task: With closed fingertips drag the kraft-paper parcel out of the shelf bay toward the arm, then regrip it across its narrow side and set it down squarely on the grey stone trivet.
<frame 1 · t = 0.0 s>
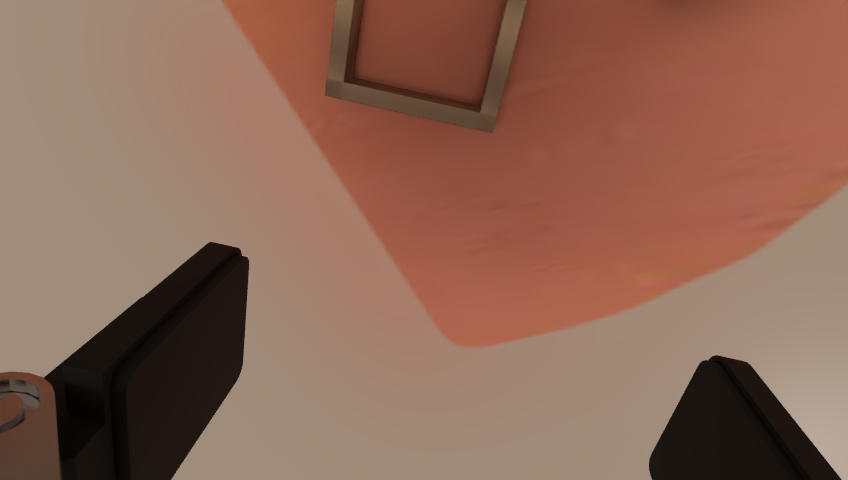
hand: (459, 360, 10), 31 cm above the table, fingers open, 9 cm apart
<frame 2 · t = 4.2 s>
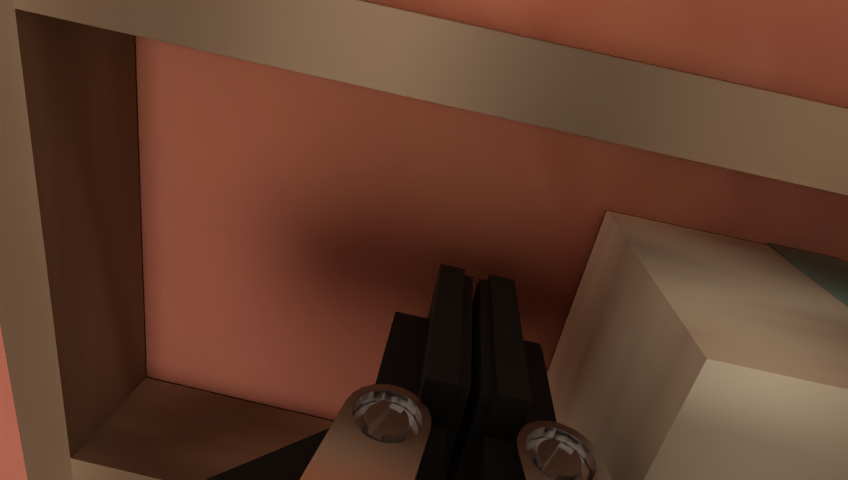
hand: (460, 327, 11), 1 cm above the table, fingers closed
shelf bay: (525, 312, 13), on the table
parcel: (743, 359, 13), on the table, touching gripper
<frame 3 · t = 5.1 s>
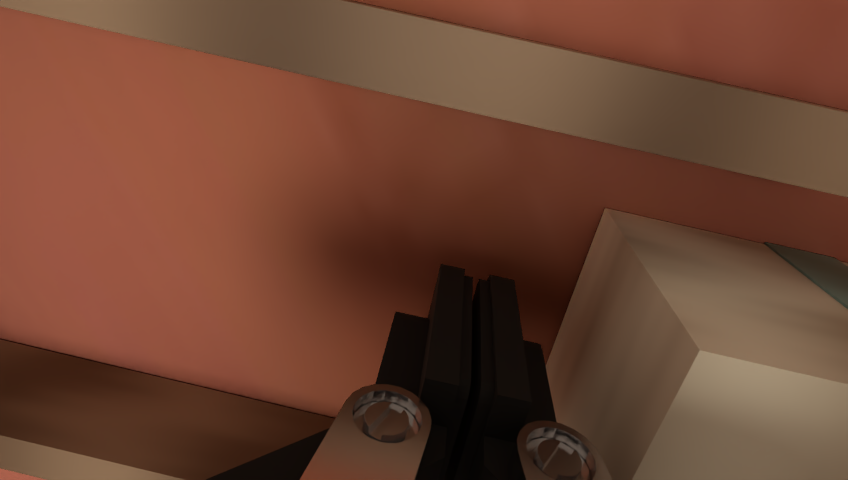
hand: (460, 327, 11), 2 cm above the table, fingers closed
shelf bay: (333, 266, 13), on the table
parcel: (739, 356, 13), on the table, touching gripper
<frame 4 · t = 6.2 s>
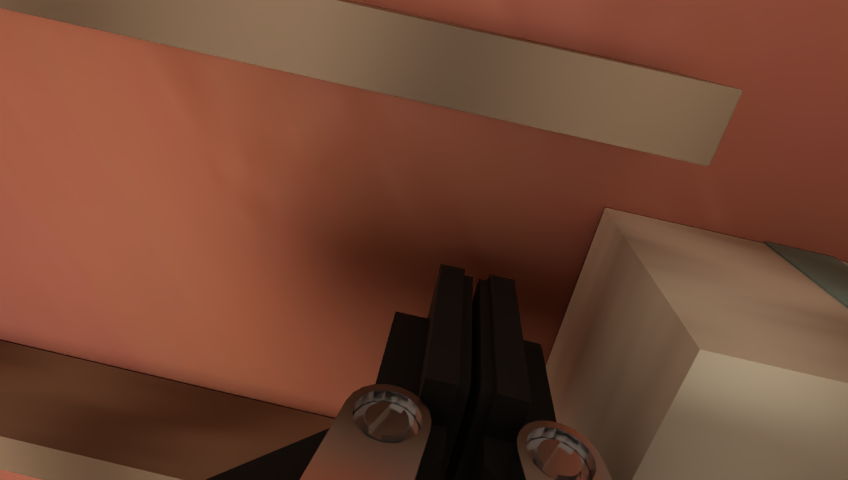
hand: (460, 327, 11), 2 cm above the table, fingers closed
shelf bay: (195, 235, 13), on the table
parcel: (739, 356, 13), on the table, touching gripper
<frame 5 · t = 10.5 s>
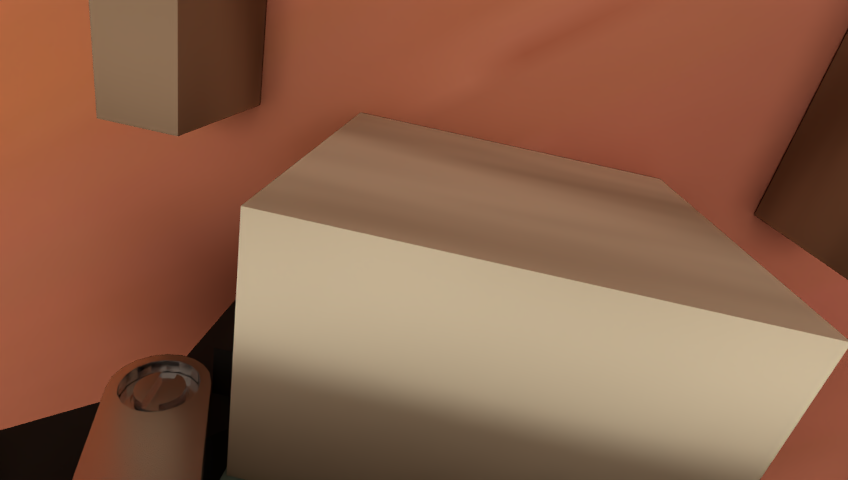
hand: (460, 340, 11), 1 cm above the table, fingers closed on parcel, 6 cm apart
parcel: (458, 333, 12), on the table, touching gripper
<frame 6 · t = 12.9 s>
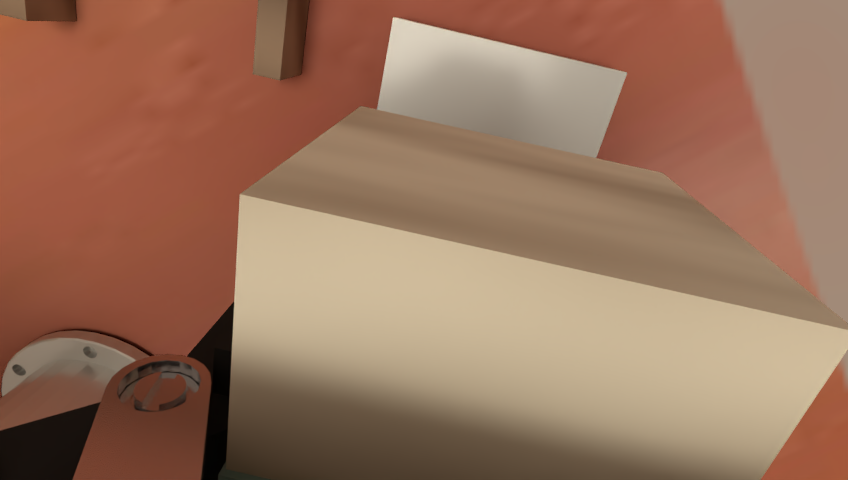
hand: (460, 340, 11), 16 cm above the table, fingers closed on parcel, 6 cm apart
trivet: (473, 166, 26), on the table
parcel: (459, 329, 12), point 15 cm above the table, touching gripper
when the fingers open (4 cm above the table, at t = 15.5 s): parcel drops 1 cm, resting on trivet.
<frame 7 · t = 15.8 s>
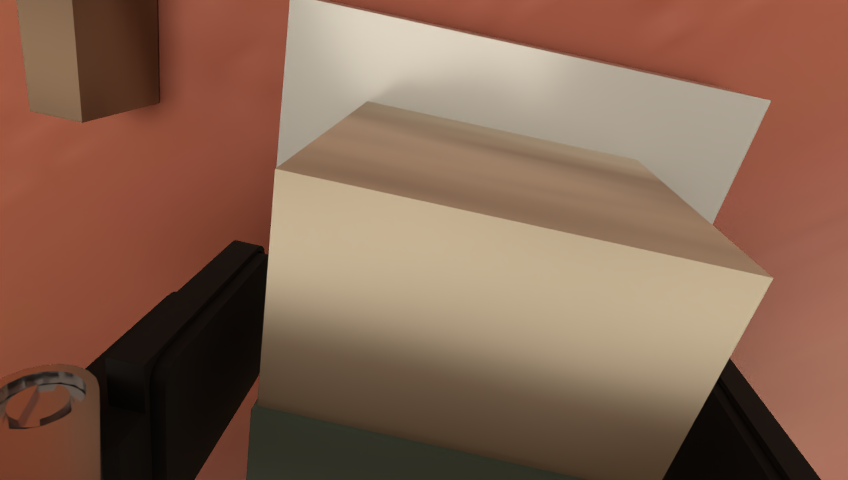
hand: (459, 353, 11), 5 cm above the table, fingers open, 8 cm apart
trivet: (464, 254, 15), on the table
parcel: (456, 304, 13), point 2 cm above the table, touching trivet
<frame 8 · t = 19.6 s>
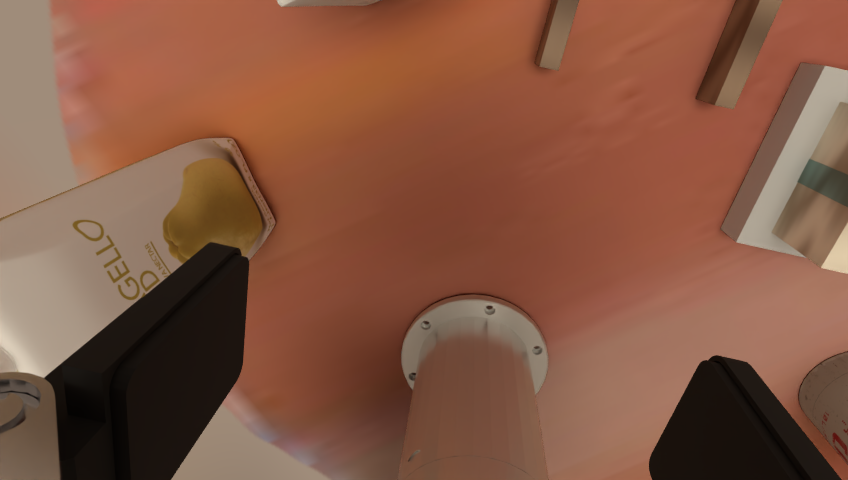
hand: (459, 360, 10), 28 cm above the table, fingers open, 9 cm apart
juice carton: (224, 191, 41), on the table
trivet: (828, 167, 35), on the table
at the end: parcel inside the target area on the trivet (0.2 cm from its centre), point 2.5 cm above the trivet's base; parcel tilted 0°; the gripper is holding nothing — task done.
